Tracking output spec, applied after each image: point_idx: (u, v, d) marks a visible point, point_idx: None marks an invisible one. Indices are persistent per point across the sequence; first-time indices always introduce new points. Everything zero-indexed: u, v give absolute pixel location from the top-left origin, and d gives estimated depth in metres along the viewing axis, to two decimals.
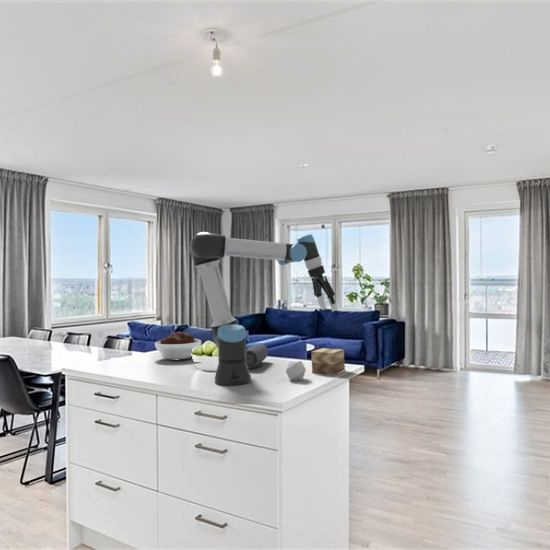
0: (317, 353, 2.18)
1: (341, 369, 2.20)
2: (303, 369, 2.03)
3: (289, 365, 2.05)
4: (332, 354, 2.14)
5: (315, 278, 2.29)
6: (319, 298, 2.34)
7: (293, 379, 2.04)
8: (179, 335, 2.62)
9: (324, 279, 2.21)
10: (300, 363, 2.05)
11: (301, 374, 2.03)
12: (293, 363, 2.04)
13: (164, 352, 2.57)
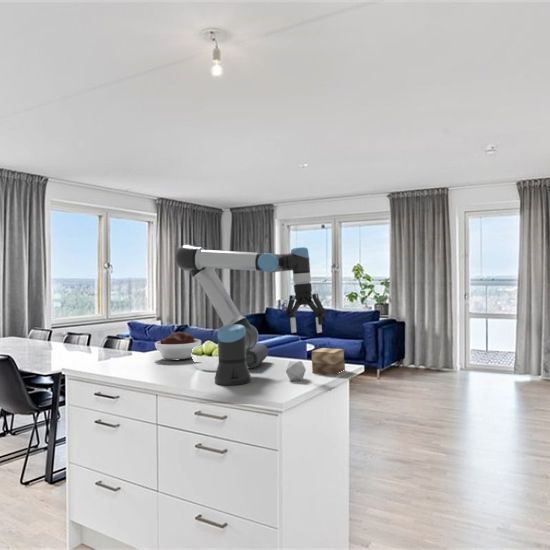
0: (317, 353, 2.18)
1: (341, 369, 2.20)
2: (303, 369, 2.03)
3: (289, 365, 2.05)
4: (333, 354, 2.14)
5: (299, 295, 2.10)
6: (292, 319, 2.14)
7: (293, 379, 2.04)
8: (179, 335, 2.62)
9: (316, 296, 2.06)
10: (300, 363, 2.05)
11: (301, 374, 2.03)
12: (293, 363, 2.04)
13: (164, 352, 2.57)
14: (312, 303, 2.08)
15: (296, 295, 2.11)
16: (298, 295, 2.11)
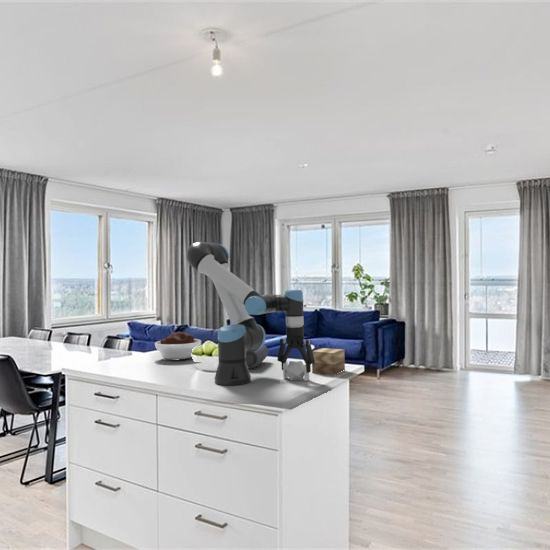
0: (317, 353, 2.18)
1: (341, 369, 2.20)
2: (303, 369, 2.03)
3: (289, 365, 2.05)
4: (332, 354, 2.14)
5: (290, 337, 2.06)
6: (285, 364, 2.08)
7: (293, 379, 2.04)
8: (179, 335, 2.62)
9: (309, 343, 2.02)
10: (300, 363, 2.05)
11: (301, 374, 2.03)
12: (293, 363, 2.04)
13: (164, 352, 2.57)
14: (303, 348, 2.04)
15: (287, 338, 2.07)
16: (289, 337, 2.06)
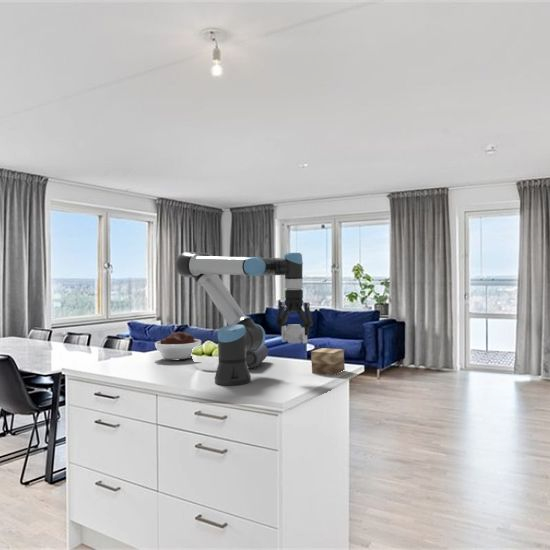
0: (317, 353, 2.18)
1: (341, 369, 2.20)
2: (302, 332, 2.03)
3: (288, 328, 2.05)
4: (332, 354, 2.14)
5: (289, 300, 2.06)
6: (284, 328, 2.08)
7: (291, 342, 2.04)
8: (179, 335, 2.62)
9: (308, 306, 2.02)
10: (299, 326, 2.05)
11: (299, 337, 2.03)
12: (292, 326, 2.04)
13: (164, 352, 2.57)
14: (301, 311, 2.05)
15: (286, 301, 2.07)
16: (288, 300, 2.06)
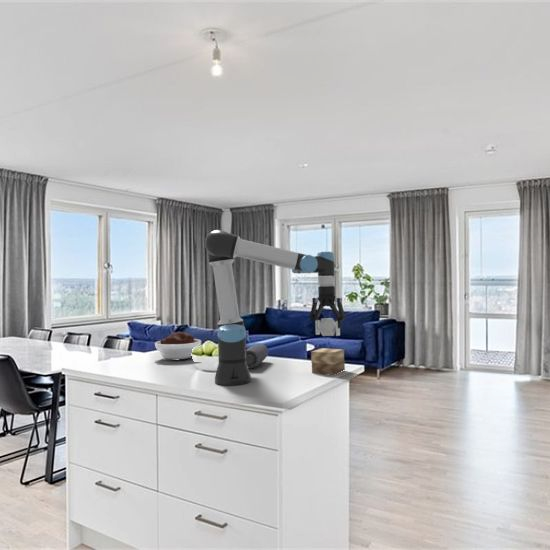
0: (317, 353, 2.18)
1: (341, 369, 2.20)
2: (335, 325, 2.18)
3: (321, 321, 2.20)
4: (332, 354, 2.14)
5: (322, 296, 2.21)
6: (317, 322, 2.23)
7: (325, 334, 2.19)
8: (179, 335, 2.62)
9: (340, 301, 2.18)
10: (332, 320, 2.20)
11: (333, 329, 2.18)
12: (325, 319, 2.19)
13: (164, 352, 2.57)
14: (334, 306, 2.20)
15: (319, 296, 2.22)
16: (321, 296, 2.21)
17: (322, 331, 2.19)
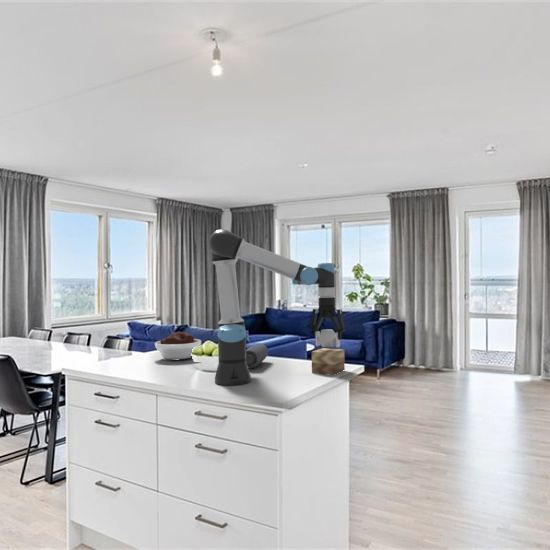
0: (317, 353, 2.18)
1: (341, 369, 2.20)
2: (335, 336, 2.18)
3: (321, 333, 2.20)
4: (332, 354, 2.14)
5: (322, 307, 2.21)
6: (317, 333, 2.23)
7: (325, 346, 2.19)
8: (179, 335, 2.62)
9: (340, 312, 2.18)
10: (332, 331, 2.20)
11: (333, 341, 2.18)
12: (325, 331, 2.19)
13: (164, 352, 2.57)
14: (334, 317, 2.20)
15: (319, 308, 2.22)
16: (321, 307, 2.21)
17: (322, 342, 2.19)
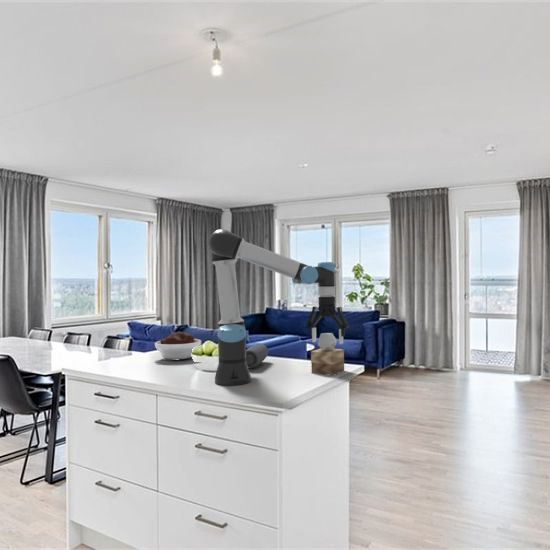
0: (316, 353, 2.18)
1: (340, 369, 2.20)
2: (334, 340, 2.18)
3: (321, 337, 2.19)
4: (331, 354, 2.14)
5: (323, 307, 2.21)
6: (314, 329, 2.24)
7: (325, 350, 2.19)
8: (179, 335, 2.62)
9: (340, 309, 2.17)
10: (331, 335, 2.20)
11: (333, 345, 2.18)
12: (325, 335, 2.19)
13: (164, 352, 2.57)
14: (335, 315, 2.19)
15: (320, 307, 2.22)
16: (322, 307, 2.21)
17: (322, 346, 2.18)
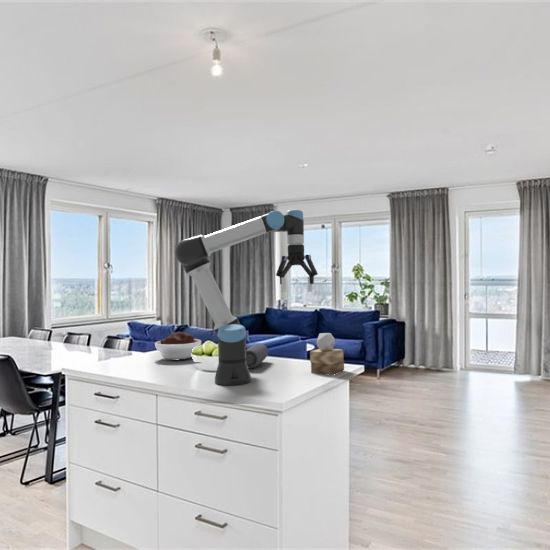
0: (316, 353, 2.18)
1: (340, 369, 2.20)
2: (333, 340, 2.18)
3: (320, 336, 2.20)
4: (330, 354, 2.14)
5: (292, 256, 2.20)
6: (283, 279, 2.23)
7: (323, 349, 2.19)
8: (179, 335, 2.62)
9: (309, 257, 2.17)
10: (330, 335, 2.20)
11: (331, 345, 2.18)
12: (324, 334, 2.19)
13: (164, 352, 2.57)
14: (304, 264, 2.18)
15: (289, 256, 2.21)
16: (291, 256, 2.20)
17: (320, 346, 2.18)
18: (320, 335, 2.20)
